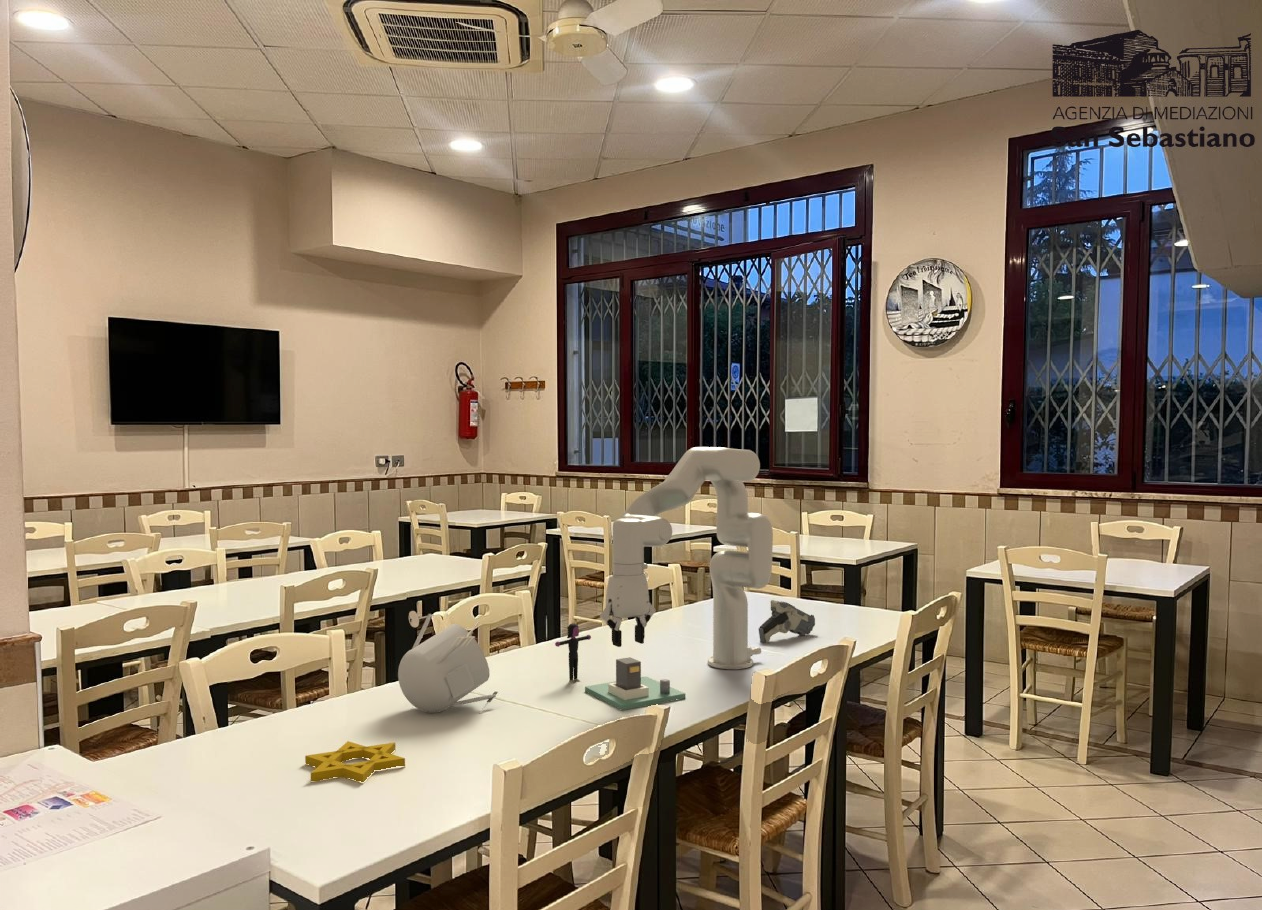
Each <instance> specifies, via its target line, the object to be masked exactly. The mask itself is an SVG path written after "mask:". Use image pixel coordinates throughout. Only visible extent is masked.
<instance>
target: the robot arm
mask: <svg viewBox="0 0 1262 910" xmlns="http://www.w3.org/2000/svg"><path fill="white" fill-rule="evenodd" d="M760 469H761V462H760V459H759V456H758V455H757V454H756V453H755V452H754V451H752V450H751V449H738V448H728V447H721V446H718V447H717V446H710V447H709V446H695V447H691V448H690V449H688V450H687V451H686V452H684V453H683V455H682V457H681V458H680V459H679V460H678V462H677V463H676V464H675V466H674V468H672V471H671V472H670V473H669V474H668V475H667V476H666V478H665V479H664V481H663V482H661V483H659V484H657V485H655V486H654V487H652V488H650V489H648V490H647V491H645V492H644V493H642V494H640V495H639V496H638V497H637V498H635V499H634V500H633V501H632V502H631V503H630V504H629V506H628V507H627V508H626V509H625V511H624V512H623V513H622V515H621V517H620V518H617V519H615V520H614V521H613V523H612V575H609V577H608V582H607V586H606V595H605V607H604V609H603V610H602V612H601V613H600V614H599V618H600V619H601V620H602V621H603V622H605V624H606V625H607V626H608V627H609V628H610V629H611V643H612V645H613V646H615V647H617V648H621V647H622V642H623V641H622V640H623V639H622V636H623V635H622V633H623V631H622V630H621V629H620V628H621V624H622V621H623V619H626V618H635V619H634V620H635V622H636V625H634V641H635V642H636V643H638V644H640V645H641V644H644V643H645V628H646V627H647V625H648V622H649V621H650V620H651V617H652V616H653V615H654V614H655V613H656V611H657V610H656V608H655V607H654V606H653V605H652V603H651V602H650V595H649V594H650V592H649V586H648V580H647V575H646V574H645V570H646V569H647V570H648V564H647V562H646V563H645V562H644V561H645V558H644V553H645V551H644V550H645V549H644V548H645V547H651V548H652V547H653V548H658V547H662V546H665V545H666V544H667V543H668V542H669V541H670V540H671V538H672V536H673V527H672V525H671V523H670V522H669V520H668V519H666V518H664V517H662V516H658V515H660V514H662V513H665V512H668V511H672V510H676V509H679V508H681V507H684V506H686V505H687V504H689V503H690V502H691V501H692V499H693V498H694V496H696V494H697V492H698V491H699V489H700V488H701V487H702V485H703V484H704V483H705V481H707V480H709V481H710V482H711V484H712V486H713V487H714V491H715V492H716V502H717V503H716V538H717V540H718V541H719V542H720V543H721V544H723V545H726V546H732V547H740V548H741V547H742V548H747V550H748V552H746V551H741V550H740V551H739V550H726V549H725V550H720V551H717V552H716V553H714V555H712V557H711V559H710V561H709V574H710V575H709V576H710V580H711V586H712V597H713V598H712V601H713V603H712V604H713V605H712V606H713V607H712V610H713V613H712V614H713V615H712V618H713V620H712V621H713V622H712V624H713V625H712V626H713V627H712V635H713V636H712V640H713V641H712V647H713V648H712V653H713V654H712V656H709V657H708V658H707V664H708V666H710V667H713V668H716V669H724V670H742V669H748V668H750V667H752V666H753V665H754V660H753V659H752V657H753V656H754V655H756V656H757V655H760V654H762V648H761V647H759V646H757V647H753V648H752V647H751V646H748V645H749V643H748V637H749V636H748V635H749V634H748V633H749V632H748V630H749V629H748V627H749V623H748V621H749V620H748V619H749V617H748V615H749V614H748V613H749V612H748V611H749V609H748V608H749V607H748V606H749V604H748V603H749V602H748V597H747V594H746V592H745V591H744V588H748V589H757V590H758V589H763V588H765V587H767V585H768V584H769V582H770V580H771V576H772V571H773V546H774V545H773V544H774V543H773V541H774V533H773V532H774V529H773V525H772V523H771V520H770V519H769V518H768V517H767V516H766V515H764V514H763V513H762V514H761V513H757V512H749V503H748V502H749V501H748V500H749V499H748V497H749V496H748V491H747V489H746V485H745V484H744V482H751V481H753V480H755V479H756V478H757V476H758V475H759V472H760ZM609 616H611V618H610V617H609Z"/></svg>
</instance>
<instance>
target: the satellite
mask: <svg viewBox="0 0 1262 910" xmlns="http://www.w3.org/2000/svg"><path fill="white" fill-rule="evenodd" d="M431 617H435V614H432V613H428V614H427V615H425V616H421V617H420V616H419V615H418V613H417V612H416V611H415V610H411V611H409V613H408V621H409V624H410V626H411V627H412V628H417V627H419V625H420V620H421V619H422V620H423V619H425V620H424V623H423V624H422V628H421V629H420V631H419V633H418V636H417V638H416V640H415V642H414V643H413V646H412V647H411V649H409V650H408V651H407V652H406V653H405V654H404V655H403V656H402V658H401V660H400V663H399V665H398V672H397V678H398V683H399V687H400V690H401V692H402V694H403V696H404V697H405V699H406V700H407V701H408V702H409V703H410V704H411V705H412V706H414V708H416V709H418V710H420V711H421V712H425V713H431V714H434V713H435V714H436V713H440V712H443V711H445V710H447V709H448V708H449V707H456V706H457V707H458V706H463V705H468V704H472V703H475V702H476V703H477V702H482V701H485V700H487V701H486V704H485V705H484V706H483V708H481V710H480V711H479V713H480V714H481V713H482V712H483V710H484V709H485V708H486V707H487V705H488V704H489V703H491V702H492V701H493V699H494V698H496V696H497V694H498V693H499V691H494V692H493V693H492V694H488V695H487V694H486V695H482V696H478V697H474V698H468V699H467V698H466V699H463V698H464V697H466V696H467V695H468V694H470V693H472V692H473V691H474V690H476V689H478V687H481V686H482V685H483V684H485V683H486V682H487V681H489V680H490V679H489V678H490V667H489V664H488V660H487V658H486V655H485V653H484V652H483V650H482V648H481V646H480V645H479V642H477V640H476V636H473V634H474V632H473V631H474V630H475V629H476V628H477V627H478V625H479V624H480V620H478V621H477V622H476V623H475V625H474V626H473V627H472V628H471V629H470V631H468V630H467V629H466V628H465V627H463V626H462V625H460V624H458V623H452V624H450V625H449V626H447V627H446V628H444V629H442V630H441V631H439V632H437V633H436V634H434V635H433V636H431V637H429V638H428V639H426V640H424V641H423V642H421V640H422V637H423V636H424V634H425V632H426V631H427V630H426V629H427V628H428V625H429V623H430V621H431ZM420 642H421V643H420Z"/></svg>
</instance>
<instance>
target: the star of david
mask: <svg viewBox="0 0 1262 910" xmlns="http://www.w3.org/2000/svg"><path fill="white" fill-rule="evenodd" d="M394 750H395V751H396V742H388V743H382V744H375V745H374V744H373V745H368V746H365V745H363V744H359V743H356V742H352V741H349V740H348V741H346V742H345V743H344V744H342V745H341V746H340V747H339V748H338V749H337V750H334V751H328V752H319V753H314V754H308V755H307V754H306V755H305V757H304V759H305V763H306V764H309V765H311V766H310V767H312V766H315V767H317V768H315V769H314V770H312V771H311V772H310V782H311V781H317V782H321V781H320V780H323V779H329V778H333V777H342V778H344V777H347V778H350V779H354V780H356V781H361V782H364V781H365V780H366V779H367V777H369V776H370V775H371V773H373V772H374V770H381V769H386V768H391V767H396V766H405V767H406V758H405V757H402V756H399V755H395V754H394V753H393V754H391V753H392V752H393V751H394ZM362 757H364V758H369V759H370V760H365V761H361V762H354V763H348V764H347V763H344V762H347V761H346V760H349V759H352V758H362ZM342 761H344V762H342ZM341 762H342V763H341ZM306 764H305V765H306ZM309 765H308V766H309ZM347 778H346V779H347ZM350 779H349V780H350ZM329 780H330V779H329ZM323 781H324V780H323ZM356 781H355V782H356Z"/></svg>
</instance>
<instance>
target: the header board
mask: <svg viewBox="0 0 1262 910" xmlns="http://www.w3.org/2000/svg"><path fill="white" fill-rule="evenodd" d="M584 692H585V693H588V694H589V695H591V696H593V697H595V698H597V699H599V700H601V701H603V702H605V703H607V704H609V705H610V706H613V707H614V708H616V709H619V710H620V711H625V710H630V709H636V708H640V707H641V708H642V707H646V706H652V705H651V704H653V705H657V704H663V703H667V702H668V701H669V702H672V701H671V700H674V701H677V700H676V699H679V700H685V699H686V693H685V692H683V691H682V690H679V689H676V688H674V687H672V686H671V680H670V679H666V678H664V679H660V681H657V680H655V679H653V678H651V677H649V676H641V688H636V689H631V690H624V689H622V688H620V687H618V686H616V680H615V681H610V682H603V683H597V684H592V685H587V686H584ZM684 698H685V699H684Z"/></svg>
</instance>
